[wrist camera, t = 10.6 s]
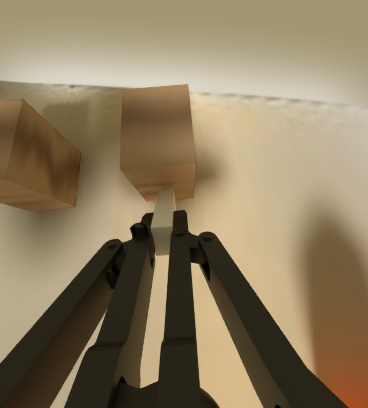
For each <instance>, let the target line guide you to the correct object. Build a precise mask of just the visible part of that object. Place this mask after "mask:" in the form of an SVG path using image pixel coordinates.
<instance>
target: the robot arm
mask: <svg viewBox="0 0 368 408" xmlns="http://www.w3.org/2000/svg"><path fill="white" fill-rule="evenodd" d="M130 230H131V233H132V239H131V240H129V241H126V242H123V243H122V242H121V241H120V240H119V239H112V240H109V241H107V242H106V243H105V244H104V245H103V246H102V247H101V248H100V249H99V251H98V252H97V253H96V254H95V255H94V256H93V257H92V259H91V260H90V261H89V262H88V263H87V264H86V266H85V267H84V268H83V269H82V270H81V271H80V272H79V274H78V275H77V276H76V277H75V278H74V279H73V280H72V282H71V283H70V284H69V285H68V286H67V287H66V289H65V290H64V291H63V292H62V293H61V294H60V295H59V297H58V298H57V299H56V300H55V301H54V302H53V304H52V305H51V306H50V307H49V308H48V309H47V310H46V312H45V313H44V314H43V315H42V316H41V317H40V318H39V320H38V321H37V322H36V323H35V324H34V325H33V327H32V328H31V329H30V330H29V331H28V332H27V333H26V335H25V336H24V337H23V338H22V339H21V340H20V342H19V343H18V344H17V345H16V346H15V347H14V348H13V350H12V351H11V352H10V353H9V354H8V355H7V356H6V358H5V359H4V360H3V361H2V362H1V363H0V408H50V406H51V405H52V403H53V401H54V400H55V398H56V396H57V394H58V393H59V391H60V389H61V388H62V386H63V384H64V382H65V381H66V379H67V377H68V375H69V374H70V372H71V370H72V369H73V367H74V365H75V363H76V362H77V360H78V358H79V356H80V355H81V353H82V351H83V350H84V348H85V346H86V344H87V343H88V341H89V339H90V338H91V336H92V334H93V332H94V331H95V329H96V327H97V325H98V324H99V322H100V320H101V319H102V317H103V315H104V313H105V312H106V310H107V312H106V315H105V317H104V320H103V323H102V326H101V329H100V332H99V335H98V338H97V340H96V342H95V344H94V345H93V346H91V347H89V348H88V350H87V351H86V353H85V355H84V357H83V359H82V362H81V365H80V367H79V370H78V373H77V375H76V378H75V380H74V383H73V386H72V388H71V391H70V394H69V396H68V399H67V402H66V404H65V407H64V408H220V407H219V406H218V404H217V403H216V402H215V401H214V399H213V398H212V397H211V396H210V395H209V394H208V393H207V392H206V391H204V390H203V389H202V388H200V381H199V368H198V355H197V341H196V327H195V314H194V300H193V287H192V273H191V262H192V263H197V264H199V265H200V268H201V270H202V272H203V275H204V277H205V279H206V281H207V284H208V286H209V288H210V290H211V293H212V295H213V297H214V299H215V302H216V304H217V306H218V308H219V311H220V313H221V315H222V317H223V320H224V322H225V324H226V326H227V328H228V331H229V333H230V335H231V337H232V340H233V342H234V344H235V346H236V349H237V351H238V353H239V355H240V358H241V360H242V362H243V364H244V367H245V369H246V371H247V373H248V376H249V378H250V380H251V382H252V385H253V387H254V389H255V391H256V393H257V395H258V397H259V399H260V401H261V403H262V405H263V407H264V408H348V407H347V406H346V405H345V404H344V403H343V402H342V401H341V400H340V399H339V398H338V397H337V396H336V395H335V394H334V393H333V392H332V391H331V390H330V389H329V388H327V387H326V386H325V385H324V384H323V383H322V382H321V381H320V380H319V379H318V378H317V377H316V376H315V375H314V374H313V373H312V372H311V371H310V370H309V369H308V368H307V367H306V366H305V364H304V363H303V361H302V360H301V359H300V357H299V356H298V354H297V353H296V351H295V350H294V348H293V347H292V345H291V344H290V342H289V341H288V340H287V338H286V337H285V335H284V334H283V332H282V331H281V329H280V328H279V326H278V325H277V324H276V322H275V321H274V319H273V318H272V316H271V315H270V313H269V312H268V310H267V309H266V308H265V306H264V305H263V303H262V302H261V300H260V299H259V297H258V296H257V294H256V293H255V291H254V290H253V289H252V287H251V286H250V284H249V283H248V281H247V280H246V278H245V277H244V275H243V274H242V273H241V271H240V270H239V268H238V267H237V265H236V264H235V262H234V261H233V259H232V258H231V257H230V255H229V254H228V252H227V251H226V249H225V248H224V246H223V245H222V243H221V242H220V240H219V239H218V238H217V236H216V235H215V234H214V233H212V232H203V233H201V234H199V236H196V235H193V234H191V233H190V232H189V231H188V221H187V213H186V211H185V210H179V211H176V205H175V196H174V189H164V190H159V193H158V198H157V202H156V206H155V211H154V213H146V214H145V215H144V216H143V217H142V221H141V222H139V223H136V224H134V225H132V226H131V228H130ZM155 252H156V256H157V255H169V268H168V283H167V299H166V314H165V329H164V339H163V341H162V345H161V352H160V365H159V378H158V381H157V382H155V383H153V384H150V385H148V386H146V387H143V388H140V364H141V357H142V350H143V343H144V336H145V330H146V323H147V316H148V309H149V302H150V295H151V288H152V281H153V274H154V268H155ZM107 308H108V309H107Z"/></svg>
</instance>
